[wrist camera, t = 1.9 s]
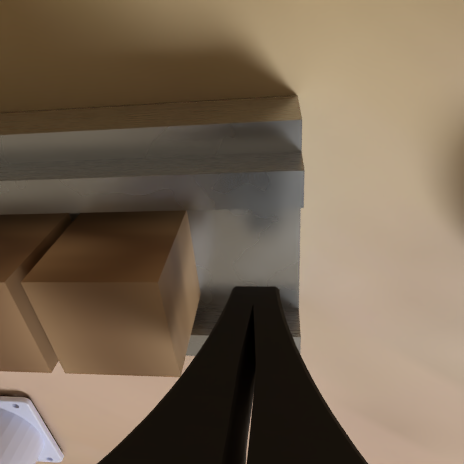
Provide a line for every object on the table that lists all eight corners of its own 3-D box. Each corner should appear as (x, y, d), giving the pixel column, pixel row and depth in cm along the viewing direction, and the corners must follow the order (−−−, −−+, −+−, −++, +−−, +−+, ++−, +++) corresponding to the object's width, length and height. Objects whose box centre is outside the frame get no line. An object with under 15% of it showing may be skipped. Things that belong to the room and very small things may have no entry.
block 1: (11, 293, 17) (-55, 369, 14) (-30, 214, 15) (-119, 282, 11) (97, 293, 16) (51, 372, 13) (68, 212, 14) (4, 281, 11)
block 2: (108, 293, 16) (65, 373, 13) (80, 211, 14) (20, 282, 11) (200, 293, 16) (180, 377, 12) (186, 209, 14) (157, 282, 10)
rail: (38, 297, 21) (-13, 364, 17) (-47, 116, 16) (-147, 157, 12) (295, 298, 19) (299, 374, 16) (297, 95, 14) (304, 136, 10)
